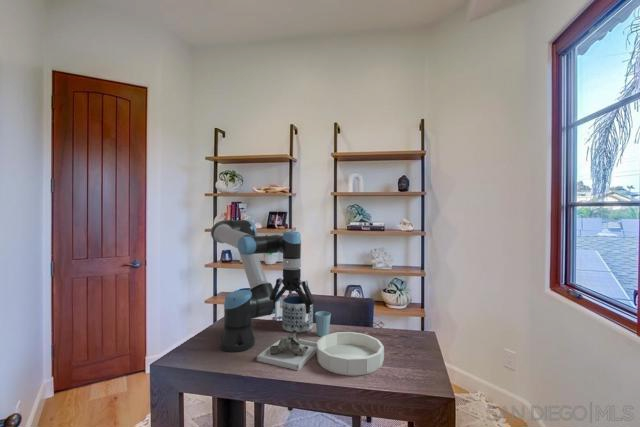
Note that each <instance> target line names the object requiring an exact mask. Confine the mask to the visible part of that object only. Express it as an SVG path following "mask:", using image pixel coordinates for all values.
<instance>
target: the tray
mask: <svg viewBox="0 0 640 427" xmlns="http://www.w3.org/2000/svg"><path fill="white" fill-rule="evenodd" d="M283 337H286V336H283ZM280 340H281V338H280V339H279V340H277V341H276V342H275V343H273V344H271V345H270V346H269V347H267V348H266V349H264V350H263V351H261V352H260V353H258V355H256V361H257V362H261V363H265V364H270V365H273V366H277V367H283V368H285V369H286V368H287V369H291V370H295V371H299V370H301V368H302V367H303V366H304V365H305V364H307V363H308V361H309V360H311V358H313V357H314V356H315V354H316V355H317V341H316V342H315V341H311V340H306V339H300V338H298V340H299V344H300V345H301V346H307V347H308V349H307V351H306V353H305V354H304V355H303V356H300V355H297V356H295V355H294V354H293V353H292V352H290V351H283V352H278V354H276V355H271V354H270V353H271V352H270V347H271V346H276V345H278V344H279V342H280Z"/></svg>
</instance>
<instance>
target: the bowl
mask: <svg viewBox="0 0 640 427" xmlns="http://www.w3.org/2000/svg"><path fill="white" fill-rule="evenodd" d="M316 342H317V353H316V361H317V362H318V364H319V366H320V367H322V368H323V369H325V370H326V371H328V372H331V373H333V374H337V375H341V376H350V377H354V376H355V377H356V376H358V377H359V376H366V375H369V374H373V373H375V372H377V371H379V370H380V369H381V368H382V366H383V365H384V364H383V363H384V360H385V346H384V344H383V343H382V341H380V340H379V339H378V338H376V337H374V336H371V335H369V334H366V333H360V332H355V331H342V332H341V331H338V332H337V331H336V332H333V333H329V334H328V335H325V336H323V337H320V338H319V339H318V340H316Z"/></svg>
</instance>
